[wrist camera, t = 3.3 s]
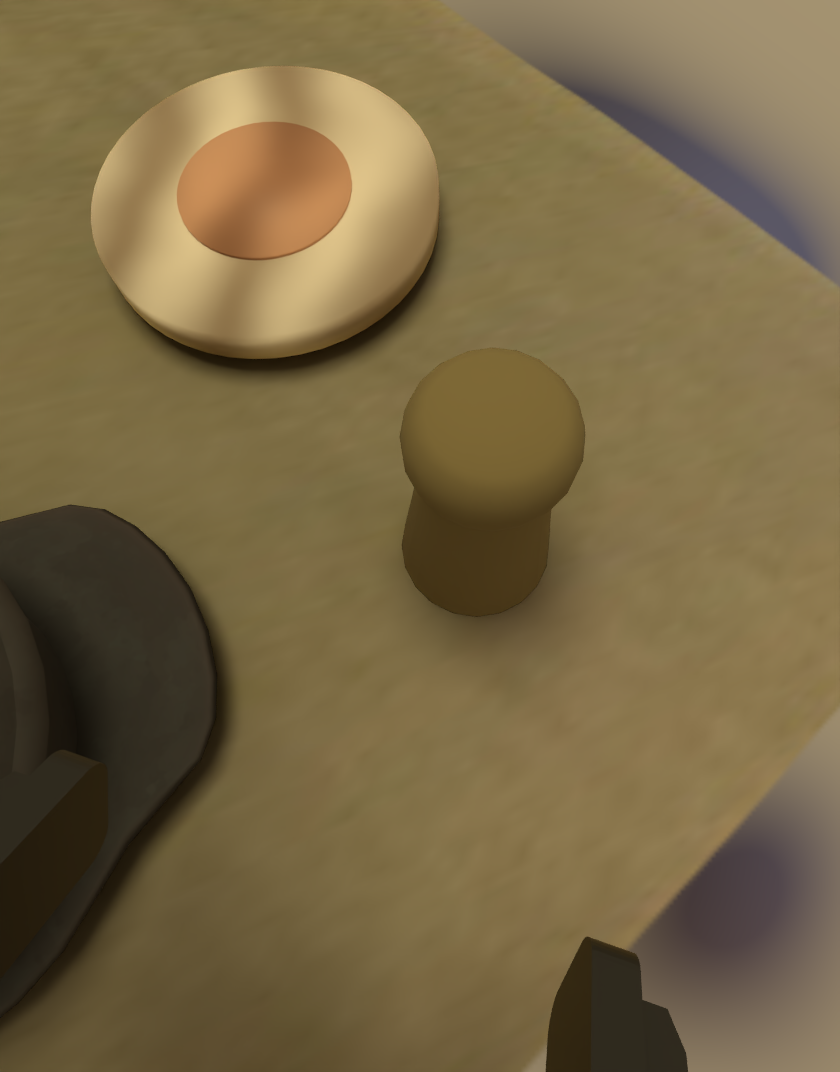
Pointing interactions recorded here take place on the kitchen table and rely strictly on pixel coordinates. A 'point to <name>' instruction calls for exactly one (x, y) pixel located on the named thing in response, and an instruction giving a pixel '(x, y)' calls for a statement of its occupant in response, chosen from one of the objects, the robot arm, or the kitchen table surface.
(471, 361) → the brown pepper shaker
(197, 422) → the kitchen table surface
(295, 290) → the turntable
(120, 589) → the casserole
